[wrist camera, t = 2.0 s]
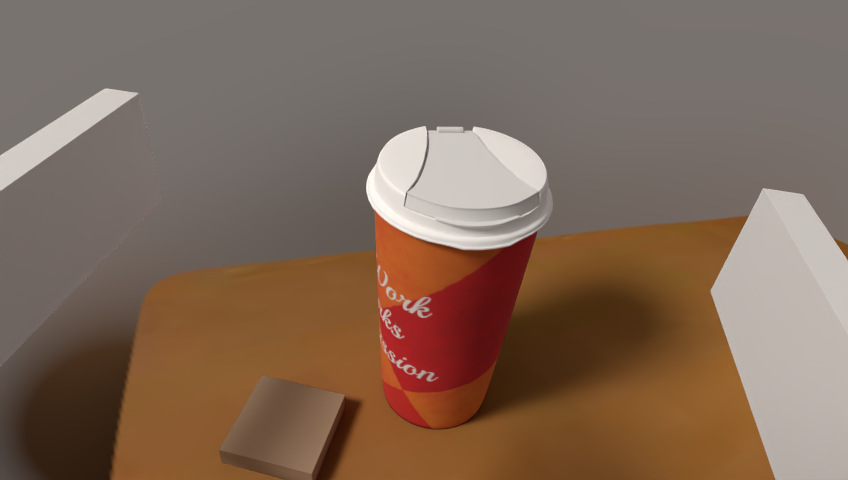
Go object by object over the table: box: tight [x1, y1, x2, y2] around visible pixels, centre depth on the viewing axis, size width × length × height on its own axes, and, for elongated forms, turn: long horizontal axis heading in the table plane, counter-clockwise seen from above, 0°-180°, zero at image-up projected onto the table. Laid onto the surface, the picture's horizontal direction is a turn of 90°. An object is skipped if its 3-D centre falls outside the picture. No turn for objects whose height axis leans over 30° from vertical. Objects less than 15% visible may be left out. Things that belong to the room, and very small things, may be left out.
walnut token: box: [219, 375, 345, 480], centre depth 29 cm, size 4×4×2 cm
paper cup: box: [366, 126, 553, 429], centre depth 27 cm, size 8×8×14 cm
